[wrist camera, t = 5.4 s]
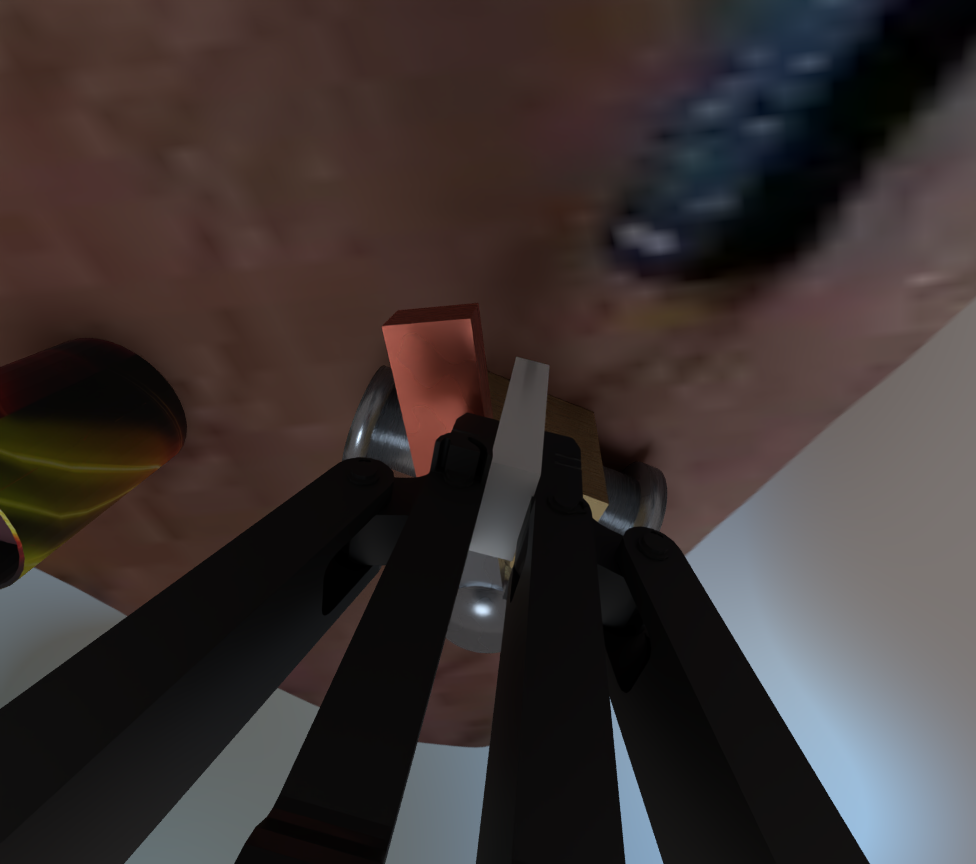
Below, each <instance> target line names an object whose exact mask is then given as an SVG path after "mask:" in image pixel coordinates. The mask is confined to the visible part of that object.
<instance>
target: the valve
mask: <svg viewBox="0 0 976 864" xmlns="http://www.w3.org/2000/svg"><path fill="white" fill-rule="evenodd" d="M487 374H488V382H489V389H490V397H491V405H492V412H493V419H495V420H499V421H500V418H501V415H502V411H503V407H504V403H505V399H506V395H507V391H508V387H509V383H510V380H508V379H506V378H503V377H500V376H498V375H495V374H493V373H490V372H487ZM544 431H548V432H551V433H555V434H559V435H563V436H567V437H571V438H573V439H574V440H575V441H576V443H577V444H578V446H579V447H580V449H581V466H582V468H581V470H582V486H583V498H584V499H585V500H586V501H587V503H588V504H589V505H590V508H591V511H592V518H593V519H595V520H596V521H597V522H598V523H600V524H601V525H603V526H605V527H607V528H608V529H610V530H612V531H614V532H616V533H619V534H621V535H624V533H625V531H626V530H628V529H629V528H631V527H638V526H643V527H647V528H652V529H654V530H657V531H660V528H661V525H662V522H663V518H664V515H665V510H666V503H667V485H666V480H665V477H664V475H663V473H662V472H661V470H659V469H658V468H655V467H653V466H650V465H647V464H645V463H642V462H634V463H632V464H631V465H629V466H628V467H627V468H626V469H625V470H624V471H623V472H622V473H621V472H618V471H615V470H613V469H610V468H607V467H605V466H603V465H602V459H601V453H600V447H599V441H598V435H597V429H596V423H595V417H594V412H592V411H589V410H587V409H584V408H581V407H579V406H576V405H574V404H571V403H568V402H566V401H563V400H561V399H558V398H555V397H553V396H550V395H547V403H546V416H545V429H544ZM356 457H366V458H373V459H376V460H379V461H382V462H383V463H385V464H386V465H388V466H389V467H390V468H391V469H393V470H396V471H398V472H401V473H404V474H407V475H410V476H412V477H416V473H415V468H414V464H413V460H412V455H411V451H410V447H409V442H408V438H407V434H406V429H405V425H404V421H403V416H402V412H401V408H400V403H399V399H398V395H397V390H396V386H395V382H394V377H393V373H392V369H391V368H390V367H387V366H385V365H383V366H381V367H380V368H379V369H378V371H377V372H376V373H375V375H374V376H373V378H372V380H371V381H370V383H369V385H368V387H367V389H366V391H365V393H364V395H363V397H362V400H361V402H360V404H359V406H358V409H357V411H356V414H355V417H354V419H353V422H352V425H351V428H350V431H349V434H348V437H347V441H346V444H345V448H344V453H343V459H342V461H344V460H346V459H350V458H356ZM515 554H516V552H515ZM514 561H515V555H514V558H513V561H511V562H510V567H511V568H513V565H514Z"/></svg>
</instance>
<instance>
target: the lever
mask: <svg viewBox="0 0 976 864" xmlns="http://www.w3.org/2000/svg"><path fill="white" fill-rule="evenodd" d="M382 330H383V334H384V338H385V343H386V347H387V351H388V356H389V360H390V364H391V369H392V373H393V377H394V382H395V386H396V390H397V395H398V399H399V403H400V408H401V412H402V416H403V421H404V425H405V429H406V434H407V438H408V442H409V447H410V451H411V455H412V460H413V464H414V468H415V473H416V477H420V476H424V475H426V474H428V473H429V471H430V467H431V462H432V456H433V451H434V445H435V441H436V439H437V438H438V437H439V436H441V435H444V434H446V433H451V431H452V429H453V426H454V424H455V422H456V419H457V418H459V417H460V416H462V415H464V414H465V413H467V412H468V413H472V414H475V415H479V416H483V417H487V418H491V419H493V412H492V405H491V397H490V389H489V382H488V374H487V366H486V358H485V351H484V343H483V335H482V328H481V320H480V312H479V304H478V303H472V304H462V305H451V306H440V307H429V308H419V309H408V310H398V311H397V312H396V313H395V314H394V315H393V316H392V317H391V318H390V319H389V320H388V321H387V322H386V323H384V324H383V325H382ZM510 562H511V561H509V560H505V559H501V558H497V557H493V556H489V555H485V554H481V553H477V552H474V551H470V550H469V552H468V555H467V559H466V563H465V567H464V571H463V574H462V578H461V582H460V586H459V589H458V593H457V597H456V600H455V604H454V608H453V612H452V615H451V619H450V623H449V627H448V630H447V634H446V638H447V639H448V640H449V641H451V642H452V643H454V644H455V645H457V646H459V647H461V648H464V649H467V650H470V651H474V652H479V653H497V652H501V644H502V636H503V627H504V619H505V610H506V601H507V600H505V599H502V598H503V595H504V592H505V589H506V586H507V583H508V580H509V577H510V574H511V571H512V568H511V567H510Z"/></svg>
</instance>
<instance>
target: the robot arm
mask: <svg viewBox="0 0 976 864" xmlns="http://www.w3.org/2000/svg"><path fill="white" fill-rule="evenodd" d="M548 378H549V365H547V364H543V363H539V362H535V361H531V360H527V359H523V358H519V357H516V360H515V364H514V368H513V371H512V375H511V379H510V383H509V387H508V391H507V395H506V399H505V403H504V407H503V411H502V415H501V418H500V421H499V420H495V419H491V418H487V417H483V416H479V415H475V414H472V413H468V412H467V413H465V414H464V415H462V416H460V417H459V418H457V419H456V422H455V424H454V426H453V429H452V431H451V433H446V434H444V435H441V436H439V437H438V438H437V439H436V441H435V445H434V451H433V456H432V462H431V467H430V471H429V473H428V474H426V475H424V476H420V477H415V478H396V477H394V473H393V471H392V470H391V468H390V467H389V466H388V465H386V464H385V463H383V462H382V461H379V460H376V459H373V458H366V457H356V458H350V459H346V460H344V461H342V462H340V463H338V464H337V465H335V466H334V467H332V468H331V469H330V470H328V471H327V472H326V473H324V474H323V475H321V476H320V477H319V478H317V479H316V480H315V481H313V482H312V483H310V484H309V485H308V486H306V487H305V488H304V489H302V490H301V491H299V492H298V493H297V494H295V495H294V496H293V497H291V498H290V499H288V500H287V501H286V502H284V503H283V504H282V505H280V506H279V507H277V508H276V509H275V510H273V511H272V512H271V513H269V514H268V515H266V516H265V517H264V518H262V519H261V520H260V521H258V522H257V523H255V524H254V525H253V526H251V527H250V528H249V529H247V530H246V531H244V532H243V533H242V534H240V535H239V536H238V537H236V538H235V539H233V540H232V541H231V542H229V543H228V544H227V545H225V546H224V547H222V548H221V549H220V550H218V551H217V552H216V553H214V554H213V555H211V556H210V557H209V558H207V559H206V560H205V561H203V562H202V563H200V564H199V565H198V566H196V567H195V568H194V569H192V570H191V571H189V572H188V573H187V574H185V575H184V576H182V577H181V578H180V579H178V580H177V581H176V582H174V583H173V584H171V585H170V586H169V587H167V588H166V589H165V590H163V591H162V592H160V593H159V594H158V595H156V596H155V597H154V598H152V599H151V600H149V601H148V602H147V603H145V604H144V605H143V606H141V607H140V608H138V609H137V610H136V611H134V612H133V613H132V614H130V615H129V616H127V617H126V618H125V619H123V620H122V621H121V622H119V623H118V624H116V625H115V626H114V627H112V628H111V629H110V630H108V631H107V632H105V633H104V634H103V635H101V636H100V637H99V638H97V639H96V640H94V641H93V642H92V643H90V644H89V645H88V646H87V647H85V648H83V649H82V650H81V651H79V652H78V653H77V654H75V655H74V656H72V657H71V658H70V659H68V660H67V661H66V662H64V663H63V664H61V665H60V666H59V667H58V668H56V669H55V670H53V671H52V672H50V673H49V674H48V675H46V676H45V677H44V678H42V679H41V680H39V681H38V682H37V683H35V684H34V685H33V686H31V687H30V688H29V689H27V690H26V691H25V692H23V693H22V694H20V695H19V696H18V697H16V698H15V699H13V700H12V701H11V702H9V703H8V704H7V705H5V706H4V707H2V708H1V709H0V864H124V863H125V862H126V861H127V860H128V858H129V857H130V856H131V855H132V854H133V853H134V851H135V850H136V849H137V848H138V847H139V846H140V845H141V843H142V842H143V841H144V840H145V839H146V838H147V836H148V835H149V834H150V833H151V832H152V831H153V830H154V829H155V827H156V826H157V825H158V824H159V823H160V822H161V821H162V819H163V818H164V817H165V816H166V815H167V814H168V812H169V811H170V810H171V809H172V808H173V807H174V806H175V805H176V803H177V802H178V801H179V800H180V799H181V798H182V796H183V795H184V794H185V793H186V792H187V791H188V790H189V788H190V787H191V786H192V785H193V784H194V783H195V782H196V780H197V779H198V778H199V777H200V776H201V775H202V773H203V772H204V771H205V770H206V769H207V768H208V767H209V766H210V764H211V763H212V762H213V761H214V760H215V759H216V758H217V756H218V755H219V754H220V753H221V752H222V751H223V750H224V748H225V747H226V746H227V745H228V744H229V743H230V741H231V740H232V739H233V738H234V737H235V736H236V734H237V733H238V732H239V731H240V730H241V729H242V728H243V726H244V725H245V724H246V723H247V722H248V721H249V720H250V718H251V717H252V716H253V715H254V714H255V713H256V712H257V711H258V709H259V708H260V707H261V706H262V705H263V704H264V703H265V701H266V700H267V699H268V698H269V697H270V696H271V694H272V693H273V692H274V691H275V690H276V689H277V688H278V686H279V685H280V684H281V683H282V682H283V681H284V680H285V678H286V677H287V676H288V675H289V674H290V673H291V672H292V670H293V669H294V668H295V667H296V666H297V665H298V664H299V662H300V661H301V660H302V659H303V658H304V657H305V656H306V654H307V653H308V652H309V651H310V650H311V649H312V648H313V646H314V645H315V644H316V643H317V642H318V641H319V640H320V638H321V637H322V636H323V635H324V634H325V633H326V631H327V630H328V629H329V628H330V627H331V626H332V625H333V623H334V622H335V621H336V620H337V619H338V618H339V617H340V615H341V614H342V613H343V612H344V611H345V610H346V609H347V607H348V606H349V605H350V604H351V603H352V602H353V601H354V599H355V598H356V597H357V596H358V595H359V594H360V593H361V591H362V590H363V589H364V588H365V587H366V586H367V584H368V583H369V582H370V581H371V580H372V579H373V578H374V576H375V575H376V574H377V573H378V572H379V570H380V568H381V566H382V565H386V566H385V568H384V571H383V573H382V575H381V577H380V579H379V581H378V584H377V586H376V588H375V590H374V592H373V594H372V596H371V599H370V601H369V603H368V605H367V607H366V609H365V612H364V614H363V616H362V618H361V620H360V622H359V625H358V627H357V629H356V631H355V633H354V635H353V637H352V640H351V642H350V644H349V646H348V648H347V650H346V653H345V655H344V657H343V659H342V661H341V663H340V665H339V668H338V670H337V672H336V674H335V676H334V678H333V681H332V683H331V685H330V687H329V689H328V691H327V693H326V696H325V698H324V700H323V702H322V704H321V706H320V709H319V711H318V713H317V715H316V717H315V719H314V722H313V724H312V726H311V728H310V730H309V732H308V734H307V737H306V739H305V741H304V743H303V745H302V748H301V750H300V752H299V754H298V756H297V758H296V760H295V762H294V765H293V767H292V769H291V771H290V773H289V775H288V778H287V780H286V782H285V784H284V786H283V788H282V791H281V793H280V795H279V797H278V799H277V801H276V803H275V805H274V807H273V808H272V810H271V811H270V813H269V815H268V816H267V817H266V818H265V819H264V820H263V821H262V822H261V823H259V825H257V826H256V827H255V829H254V830H253V832H252V833H251V835H250V836H249V838H248V840H247V841H246V843H245V844H244V846H243V848H242V850H241V852H240V854H239V856H238V858H237V860H236V861H235V863H234V864H385V862H386V858H387V854H388V850H389V846H390V843H391V839H392V835H393V832H394V828H395V824H396V821H397V817H398V813H399V809H400V806H401V802H402V798H403V794H404V790H405V787H406V783H407V779H408V776H409V772H410V768H411V765H412V761H413V757H414V753H415V750H416V746H417V742H418V738H419V735H420V731H421V727H422V724H423V720H424V716H425V712H426V709H427V705H428V701H429V697H430V694H431V690H432V686H433V683H434V679H435V675H436V671H437V668H438V664H439V660H440V656H441V653H442V649H443V645H444V641H445V638H446V634H447V630H448V627H449V623H450V619H451V615H452V612H453V608H454V604H455V600H456V597H457V593H458V589H459V586H460V582H461V578H462V574H463V571H464V567H465V563H466V559H467V555H468V552H469V550H470V551H474V552H477V553H481V554H485V555H489V556H493V557H497V558H501V559H505V560H509V561H513V558H514V555H515V561H514V565H513V568H512V571H511V574H510V577H509V580H508V583H507V586H506V589H505V592H504V595H503V598H502V599H505V600H507V601H506V610H505V619H504V627H503V636H502V644H501V653H500V661H499V670H498V678H497V687H496V696H495V704H494V713H493V721H492V730H491V738H490V747H489V757H488V764H487V773H486V781H485V790H484V798H483V808H482V816H481V824H480V833H479V842H478V850H477V859H476V864H625V854H624V844H623V833H622V823H621V812H620V802H619V791H618V781H617V771H616V760H615V749H614V739H613V728H612V718H611V707H610V699H611V702H612V705H613V708H614V712H615V715H616V718H617V721H618V724H619V727H620V730H621V733H622V737H623V739H624V742H625V745H626V749H627V752H628V755H629V758H630V761H631V764H632V767H633V771H634V774H635V777H636V780H637V783H638V786H639V789H640V792H641V795H642V798H643V802H644V805H645V807H646V811H647V814H648V817H649V820H650V823H651V826H652V829H653V833H654V836H655V839H656V841H657V845H658V848H659V851H660V854H661V857H662V860H663V863H664V864H870V863H869V862H868V860H867V858H866V857H865V855H864V853H863V852H862V850H861V848H860V847H859V845H858V843H857V842H856V840H855V838H854V837H853V835H852V833H851V832H850V830H849V828H848V827H847V825H846V824H845V822H844V820H843V819H842V817H841V816H840V814H839V812H838V810H837V809H836V807H835V805H834V804H833V802H832V800H831V799H830V797H829V796H828V794H827V792H826V790H825V789H824V787H823V785H822V784H821V782H820V780H819V779H818V777H817V776H816V774H815V772H814V770H813V769H812V767H811V765H810V764H809V762H808V761H807V759H806V757H805V755H804V754H803V752H802V750H801V749H800V747H799V745H798V744H797V742H796V741H795V739H794V737H793V735H792V734H791V732H790V731H789V729H788V727H787V725H786V724H785V722H784V720H783V719H782V717H781V716H780V714H779V712H778V711H777V709H776V707H775V706H774V704H773V702H772V701H771V699H770V697H769V696H768V694H767V692H766V691H765V689H764V687H763V686H762V684H761V683H760V681H759V679H758V678H757V676H756V674H755V673H754V671H753V669H752V668H751V666H750V664H749V662H748V661H747V659H746V657H745V656H744V654H743V653H742V651H741V649H740V648H739V646H738V644H737V642H736V641H735V639H734V637H733V636H732V634H731V633H730V631H729V629H728V628H727V626H726V624H725V623H724V621H723V619H722V618H721V616H720V614H719V613H718V611H717V609H716V608H715V606H714V604H713V603H712V601H711V600H710V598H709V596H708V594H707V593H706V591H705V589H704V588H703V586H702V584H701V583H700V581H699V580H698V578H697V576H696V574H695V573H694V571H693V569H692V568H691V566H690V564H689V563H688V561H687V559H686V558H685V556H684V554H683V553H682V551H681V550H680V548H679V547H678V546H677V545H676V544H675V542H674V541H673V540H671V539H670V538H669V537H667V536H666V535H665V534H663V533H661V532H659V531H657V530H654V529H652V528H647V527H643V526H638V527H631V528H629V529H628V530H626V531H625V533H624V535H621V534H619V533H616V532H614V531H612V530H610V529H608V528H607V527H605V526H603V525H601V524H600V523H598V522H597V521H596V520H595V519H593V518H592V511H591V508H590V505H589V504H588V503H587V501H586V500H585V499H584V498H583V486H582V470H581V468H582V466H581V449H580V447H579V446H578V444H577V443H576V441H575V440H574V439H573V438H571V437H567V436H563V435H559V434H555V433H551V432H548V431H544V429H545V416H546V403H547V391H548ZM515 552H516V554H515ZM609 696H610V697H609Z"/></svg>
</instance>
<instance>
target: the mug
mask: <svg viewBox="0 0 976 864" xmlns="http://www.w3.org/2000/svg"><path fill="white" fill-rule="evenodd" d="M186 430H187V424H186V418H185V413H184V410H183V408H182V405H181V403H180V400H179V399H178V397H177V395H176V394H175V392H174V390H173V388H172V387H171V386H170V384H169V383H168V382H167V381H166V380H165V378H164V377H163V376H162V375H161V374H160V373H159V372H158V371H157V370H156V369H155V368H154V367H153V366H152V365H151V364H150V363H148V362H147V361H145V360H144V359H143V358H141V357H140V356H138V355H137V354H135V353H134V352H132V351H130V350H128V349H126V348H124V347H122V346H120V345H117V344H114V343H112V342H109V341H105V340H100V339H94V338H79V339H75V340H71V341H68V342H65V343H62V344H60V345H57V346H55V347H52V348H49V349H47V350H44V351H41V352H39V353H36V354H33V355H31V356H28V357H26V358H23V359H20V360H18V361H15V362H12V363H10V364H7V365H5V366H2V367H0V589H2V588H5V587H8V586H10V585H12V584H13V583H14V582H16V581H17V580H18V579H19V578H21V577H22V576H23V575H25V574H26V573H27V572H28V571H30V570H31V569H32V568H33V567H35V566H36V565H37V564H38V563H40V562H41V561H42V560H43V559H45V558H46V557H47V556H49V555H50V554H51V553H52V552H54V551H55V550H56V549H57V548H59V547H60V546H61V545H62V544H64V543H65V542H66V541H68V540H69V539H70V538H71V537H73V536H74V535H75V534H76V533H78V532H79V531H80V530H81V529H83V528H84V527H85V526H86V525H88V524H89V523H90V522H92V521H93V520H94V519H95V518H97V517H98V516H99V515H100V514H102V513H103V512H104V511H105V510H107V509H108V508H109V507H110V506H112V505H113V504H114V503H116V502H117V501H118V500H119V499H121V498H122V497H123V496H124V495H126V494H127V493H128V492H129V491H131V490H132V489H133V488H135V487H136V486H137V485H138V484H140V483H141V482H142V481H143V480H145V479H146V478H147V477H148V476H150V475H151V474H152V473H153V472H155V471H156V470H157V469H159V468H160V467H161V466H162V465H164V464H165V463H166V462H167V461H169V460H170V459H171V458H172V457H174V456H175V455H176V454H177V453H178V452H179V451H180V449H181V448H182V446H183V445H184V441H185V438H186Z"/></svg>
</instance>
